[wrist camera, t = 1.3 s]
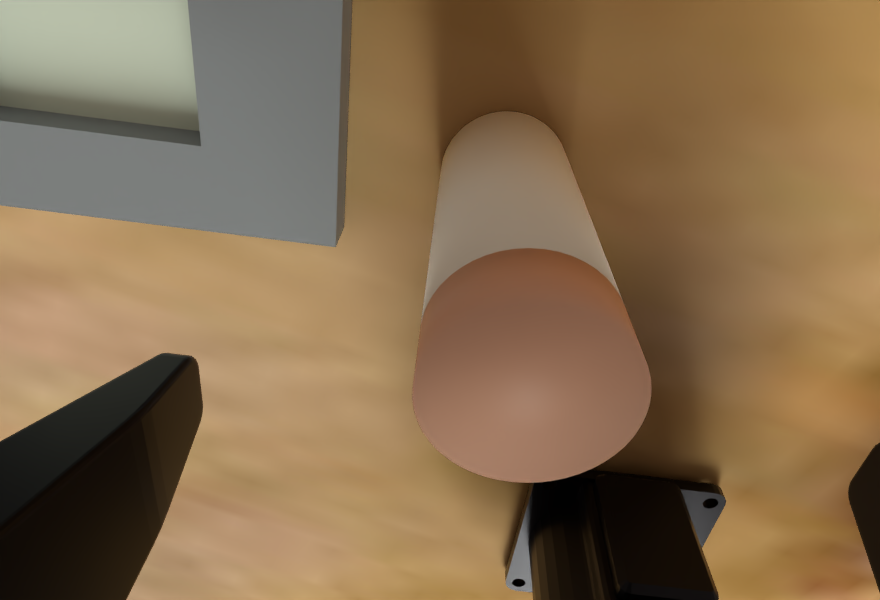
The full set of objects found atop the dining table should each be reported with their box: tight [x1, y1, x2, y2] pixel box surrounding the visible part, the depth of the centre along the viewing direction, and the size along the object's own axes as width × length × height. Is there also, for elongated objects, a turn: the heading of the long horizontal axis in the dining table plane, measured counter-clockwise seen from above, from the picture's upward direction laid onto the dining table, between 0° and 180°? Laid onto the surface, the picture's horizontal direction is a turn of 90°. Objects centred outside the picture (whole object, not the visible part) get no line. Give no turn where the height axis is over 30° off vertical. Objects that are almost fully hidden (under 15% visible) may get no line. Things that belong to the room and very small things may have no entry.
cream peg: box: [412, 111, 652, 483], centre depth 12 cm, size 3×3×9 cm
